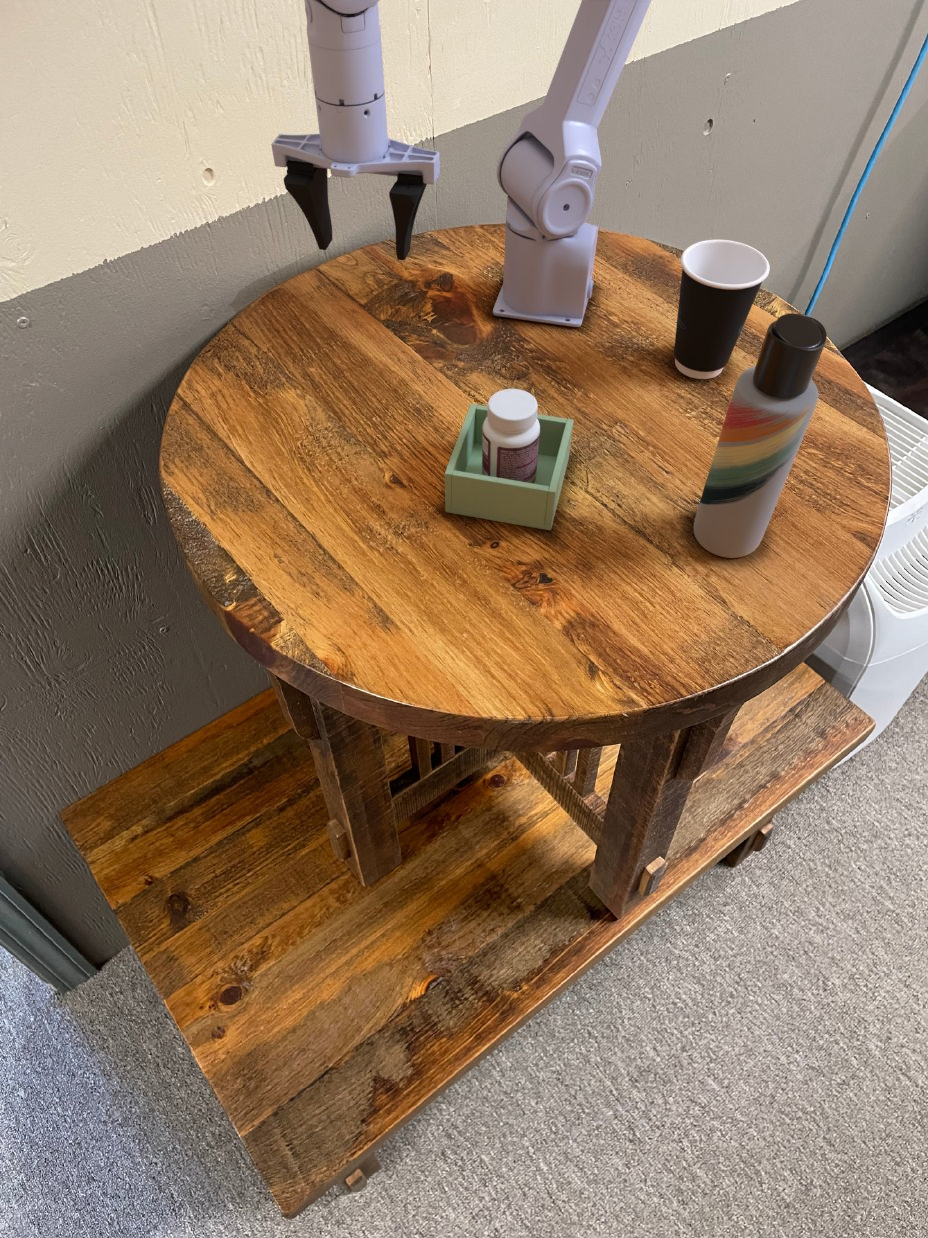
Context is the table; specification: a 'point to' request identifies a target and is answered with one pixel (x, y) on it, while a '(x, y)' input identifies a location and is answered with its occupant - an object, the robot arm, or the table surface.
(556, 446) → the sage green tray box
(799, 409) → the lotion bottle
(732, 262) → the dixie cup
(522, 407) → the pill bottle
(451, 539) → the table surface
